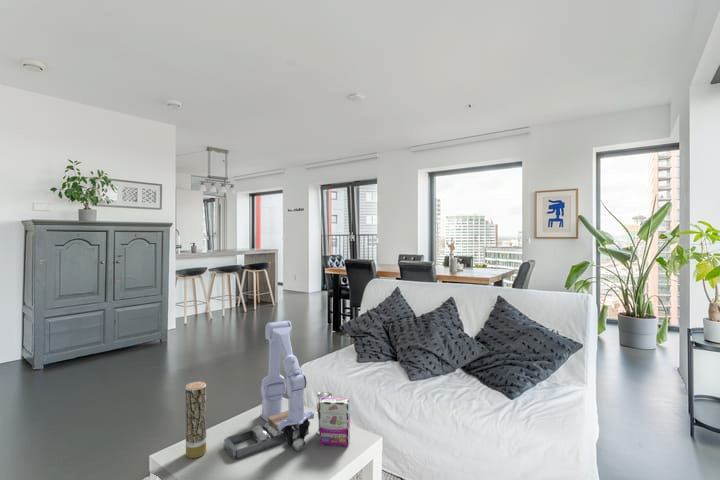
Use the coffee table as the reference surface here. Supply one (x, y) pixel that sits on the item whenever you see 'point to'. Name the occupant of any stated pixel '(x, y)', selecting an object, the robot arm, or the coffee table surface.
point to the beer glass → (318, 399)
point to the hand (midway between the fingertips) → (296, 442)
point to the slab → (277, 419)
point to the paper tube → (195, 419)
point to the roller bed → (262, 434)
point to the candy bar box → (334, 421)
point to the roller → (298, 442)
